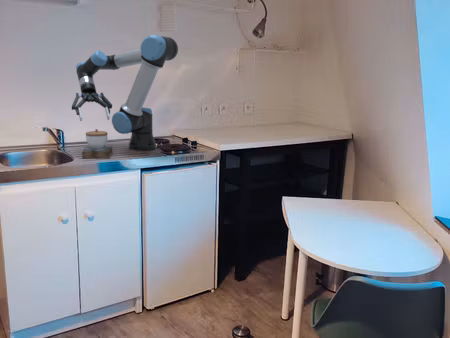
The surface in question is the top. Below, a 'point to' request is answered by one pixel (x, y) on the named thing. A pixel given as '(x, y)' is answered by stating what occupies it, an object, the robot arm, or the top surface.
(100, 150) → the dish stand
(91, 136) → the lidded jar
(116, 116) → the robot arm
